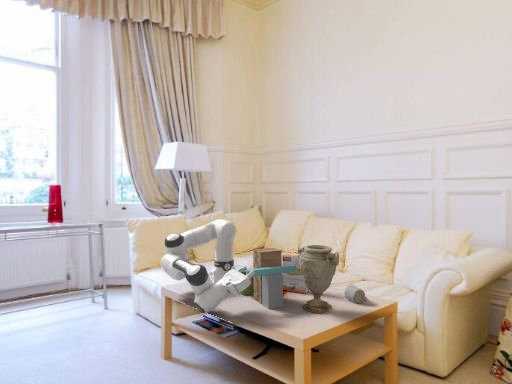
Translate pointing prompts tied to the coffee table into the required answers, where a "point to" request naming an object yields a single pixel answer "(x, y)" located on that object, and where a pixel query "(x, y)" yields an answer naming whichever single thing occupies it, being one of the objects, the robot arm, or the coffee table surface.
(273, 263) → the walnut tower
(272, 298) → the grey block
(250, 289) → the plant pot
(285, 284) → the cracker box
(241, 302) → the coffee table surface
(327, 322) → the coffee table surface
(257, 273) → the teal bar
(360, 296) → the ceramic mug
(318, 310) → the urn
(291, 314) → the coffee table surface
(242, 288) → the robot arm
